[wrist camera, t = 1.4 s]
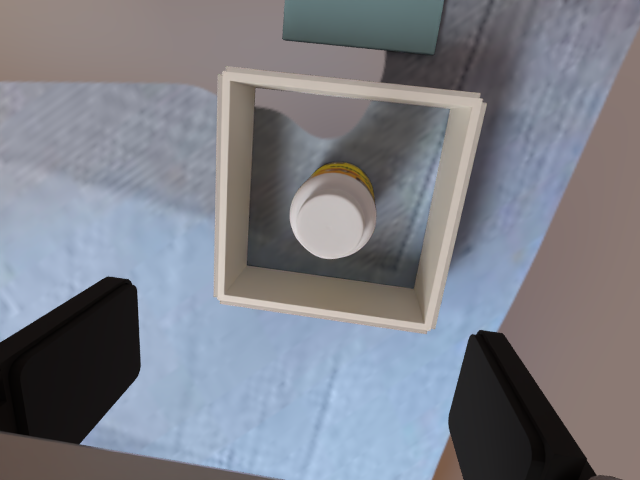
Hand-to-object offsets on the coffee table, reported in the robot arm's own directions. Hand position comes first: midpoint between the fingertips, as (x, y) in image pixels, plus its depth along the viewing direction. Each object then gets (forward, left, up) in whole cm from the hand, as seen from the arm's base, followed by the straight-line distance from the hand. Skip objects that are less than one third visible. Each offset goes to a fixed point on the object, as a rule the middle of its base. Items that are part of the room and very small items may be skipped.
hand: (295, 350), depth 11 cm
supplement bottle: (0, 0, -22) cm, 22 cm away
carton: (0, 0, -22) cm, 22 cm away
